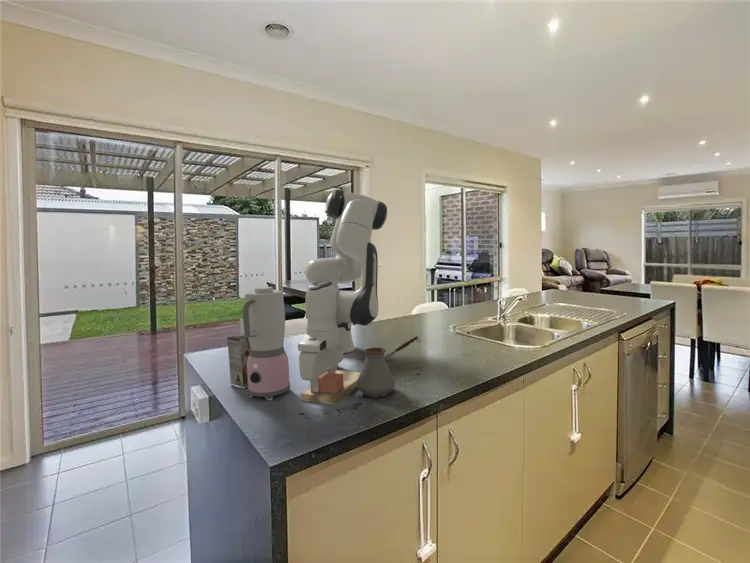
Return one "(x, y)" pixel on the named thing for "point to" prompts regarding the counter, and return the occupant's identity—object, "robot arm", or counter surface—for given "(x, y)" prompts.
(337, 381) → the block
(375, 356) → the coffee pot
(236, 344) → the coffee box
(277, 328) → the blender
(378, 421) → the counter surface
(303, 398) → the maple board
